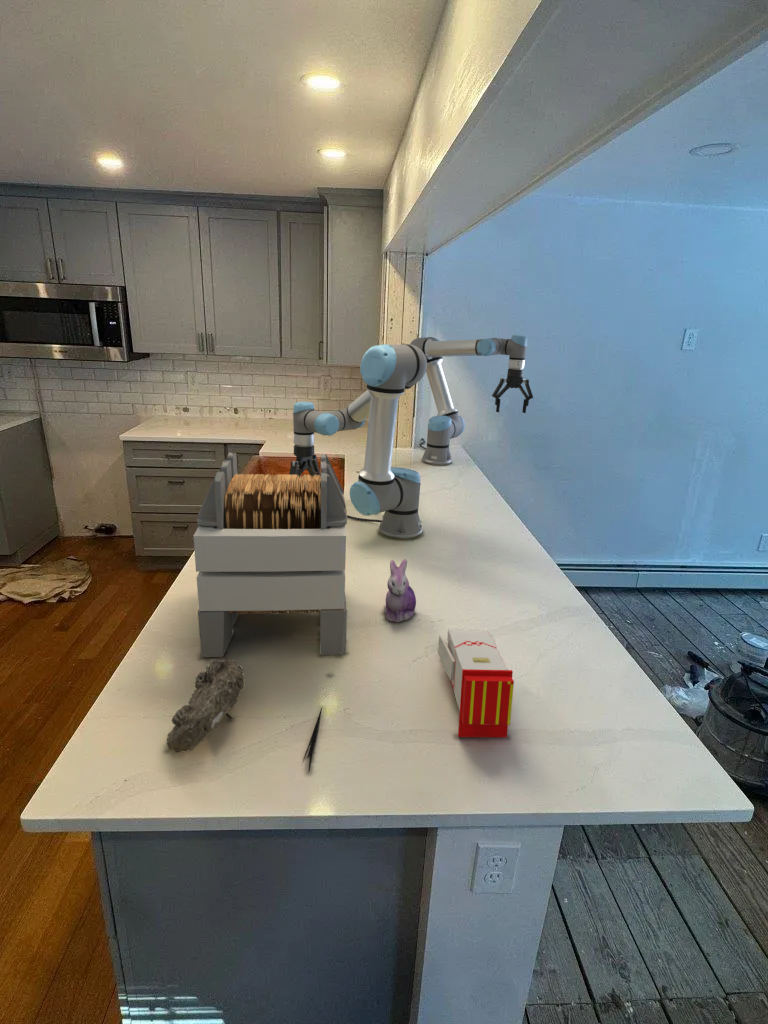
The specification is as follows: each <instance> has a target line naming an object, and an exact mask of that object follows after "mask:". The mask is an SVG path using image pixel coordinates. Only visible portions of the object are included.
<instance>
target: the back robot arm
mask: <svg viewBox="0 0 768 1024" xmlns="http://www.w3.org/2000/svg"><path fill="white" fill-rule="evenodd" d="M409 344H410V345H414V346H416V347H418V348H419V349H421V350H422V351H423V353H424V354H425V356H426V360H427V369H426V372H425V374H426V376H427V380H428V382H429V386H430V389H431V392H432V396H433V400H434V403H435V406H436V410H437V414H436V415H434V416H430V418H429V419H428V423H427V436H426V441H425V438H423V437H422V438H421V439H420V440H421V441H423V442H420V443H419V447H420V448H421V449H424V453H423V455H422V459H421V461H422V462H423V463H424V464H427V465H431V466H448V465H451V464H452V460H453V459H452V455H451V450H450V440H451V439H455V438H457V437H459V436H460V435H462V434H463V432H464V431H465V428H466V423H465V419H464V418H463V417H462V416H461V415H460V414H459V410H458V409H457V408H455V407H454V404H453V400H452V396H451V394H450V390H449V386H448V383H447V380H446V377H445V373H444V370H443V366H442V362H443V360H444V359H443V358H446V357H447V358H448V357H481V356H483V357H489V356H497V355H501V356H509V357H508V365H507V367H508V369H507V373H506V374H507V375H506V378H503V377H501V378H500V379H499V382H498V384H497V386H496V387H495V389H494V391H493V393H492V395H491V397H492V398H495V401H494V405H495V406H496V408H495V412H496V413H500V407H501V397H502V396H503V395H504V394H505V393H506V391H508V390H509V389H519V391H520V393H521V394H522V395H523V397H524V399H523V403H522V413H523V414H526V412H527V407H528V406H529V403H530V400H531V399H534V395H533V392H532V390H531V386H530V380H529V379H528V378H524V371H525V370H524V368H525V362H526V354H527V353H526V352H527V348H528V336H526V335H521V334H520V335H519V334H513V335H511V338H500V337H489V338H480V339H479V338H477V339H476V338H475V339H454V340H453V339H452V340H440V339H439V338H435V337H432V336H426V337H416V338H414V339H413V340H411V342H410V343H409ZM505 383H506V384H505ZM504 384H505V385H504ZM522 384H524V386H525V388H526V389H524V387H523V386H522ZM503 386H504V387H503ZM502 387H503V388H502ZM425 443H426V447H425V446H423V445H424V444H425Z"/></svg>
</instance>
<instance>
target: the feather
mask: <svg viewBox="0 0 768 1024" xmlns="http://www.w3.org/2000/svg"><path fill="white" fill-rule="evenodd" d="M329 675H330V676H331V675H332V674H331V673H330V674H329ZM322 710H323V707H321V708H320V710H319V713H318V716H317V719H316V723H315V725H314V728H313V731H312V733H311V737H310V739H309V742H308V745H307V748H306V751H305V754H304V757H303V760H302V763H301V767H302V765H303V763H304V761H305V758H308V759H309V760H308V762H307V763H308V764H307V766H308V771H310V770H311V766H312V765H311V764H312V760H313V757H315V756H314V755H315V751H316V749H315V746H317V739H318V733H319V729H320V722H321V717H322V712H323V711H322ZM313 754H314V755H313ZM306 755H307V757H306Z"/></svg>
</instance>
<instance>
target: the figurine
mask: <svg viewBox="0 0 768 1024" xmlns="http://www.w3.org/2000/svg"><path fill="white" fill-rule="evenodd" d="M407 567H408V559H406V558H404V559H403V560H402V561H401V563H400V565H399V566H398V565H397V563H396V562H395V561H394V560H393V559H391V560H390V561H389V570H390V576H389V578H388V579H387V589H388V591H387V592H386V594H385V595H386V596H385V607H384V615H385V616H386V620H387V621H391V622H395V623H400V622H402V621H406V620H409V619H410V618H411V617H413V616H414V615H415V610H416V606H417V597H416V593H415V591H414V590H413V587H411V586H410V582H409V579H408V577H407V574H406V571H407Z"/></svg>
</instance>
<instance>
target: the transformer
mask: <svg viewBox="0 0 768 1024" xmlns="http://www.w3.org/2000/svg"><path fill="white" fill-rule="evenodd" d="M320 473H321V476H320V475H314V477H311V476H310V474H303V475H302V474H301V475H300V478H299V475H289V474H279V473H278V474H275V475H274V474H273V475H272V474H271V475H270V474H269V473H268V474H267V473H266V474H263V473H256V474H255V473H251V474H249V473H246V474H244V473H238V462H237V452H234V453H233V452H227V455H226V457H225V460H223V461H222V464H221V466H220V468H219V470H218V471H216V473H215V475H214V477H213V479H212V482H211V484H210V487H209V489H208V491H207V493H206V494H205V497H204V500H203V503H202V505H201V507H200V509H199V511H198V513H197V516H196V524H197V528H196V530H195V532H194V534H193V548H194V549H193V551H194V560H195V561H194V563H195V572H196V573H197V572H198V574H197V575H196V590H197V602H198V609H197V622H198V635H199V636H198V637H199V641H200V657H201V658H204V659H205V658H206V659H208V658H210V657H211V658H223V657H224V655H225V654H226V650H227V648H228V646H229V644H230V641H231V639H232V637H233V634H234V625H235V624H236V622H237V619H238V615H240V614H241V615H242V614H245V615H248V614H249V615H252V614H253V615H254V614H255V615H256V614H288V613H289V614H301V613H302V614H305V613H306V614H309V613H311V614H312V613H313V614H314V613H317V614H318V613H319V634H320V635H319V647H320V648H319V651H320V652H319V654H320V655H321V656H324V655H327V656H330V655H336V656H342V655H344V654H346V653H347V620H348V619H347V618H348V617H347V614H348V610H347V597H346V556H347V555H346V551H347V531H346V525H347V524H348V518H347V515H348V511H347V505H346V498H345V491H344V489H343V486H342V484H341V483H340V481H339V478H338V477H337V475H336V472H335V470H334V468H333V466H332V463H331V461H330V458H329V457H328V455H327V453H320Z"/></svg>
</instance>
